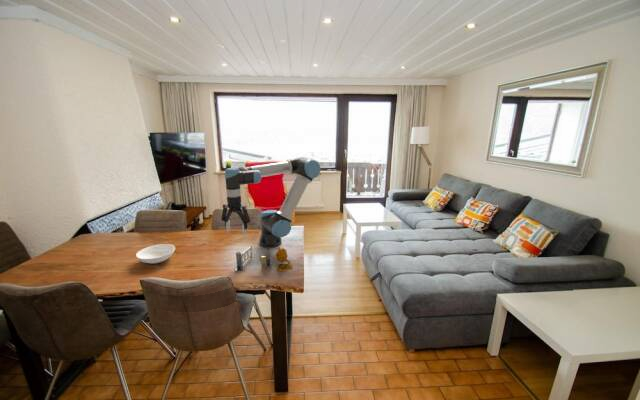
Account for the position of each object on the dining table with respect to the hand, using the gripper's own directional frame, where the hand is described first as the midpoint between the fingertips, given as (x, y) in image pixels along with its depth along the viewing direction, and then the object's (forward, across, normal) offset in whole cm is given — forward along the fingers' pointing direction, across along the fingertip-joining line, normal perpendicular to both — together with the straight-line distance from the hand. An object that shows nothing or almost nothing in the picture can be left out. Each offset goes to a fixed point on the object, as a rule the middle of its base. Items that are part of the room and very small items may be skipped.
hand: (236, 233), depth 153 cm
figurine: (+18, +29, 0) cm, 34 cm away
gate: (+17, +6, -1) cm, 18 cm away
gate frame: (+18, +12, -5) cm, 22 cm away
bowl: (+18, -46, -13) cm, 51 cm away
